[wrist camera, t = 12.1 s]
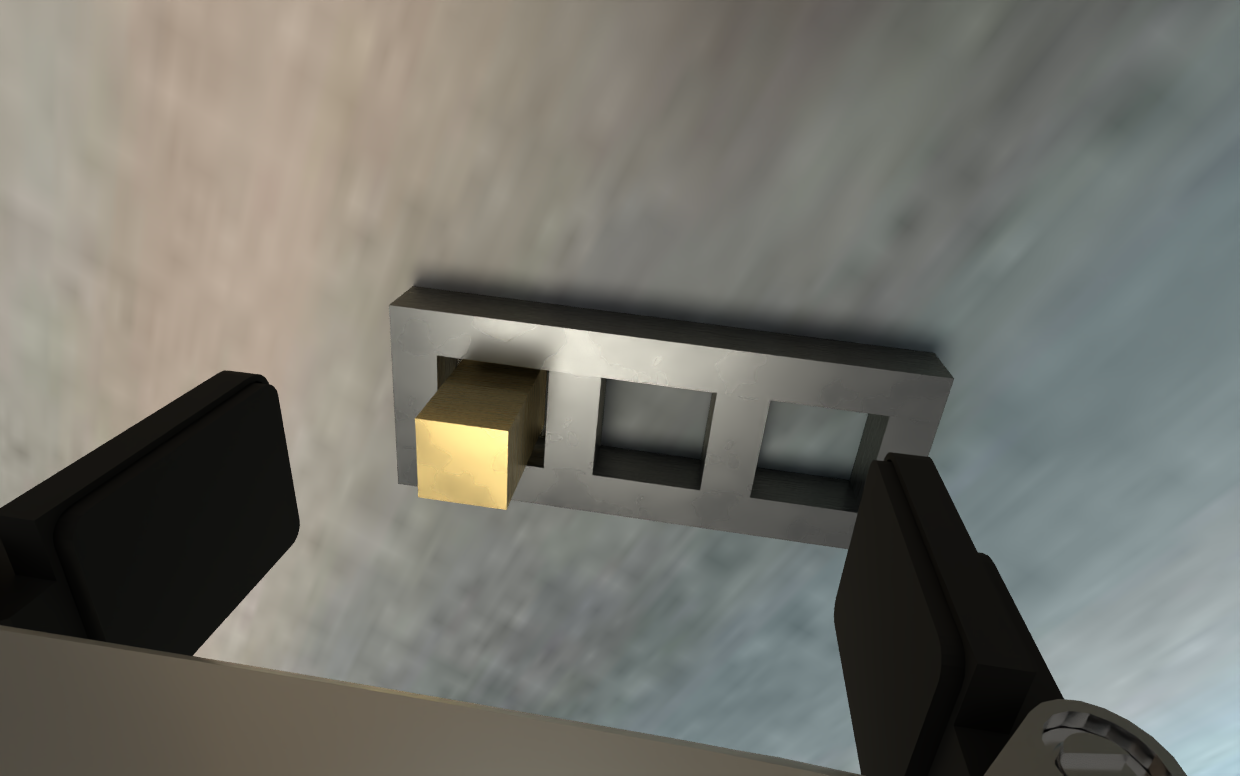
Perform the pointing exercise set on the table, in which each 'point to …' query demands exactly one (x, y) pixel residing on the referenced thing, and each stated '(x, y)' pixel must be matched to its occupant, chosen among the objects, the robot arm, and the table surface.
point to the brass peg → (479, 433)
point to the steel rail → (683, 358)
